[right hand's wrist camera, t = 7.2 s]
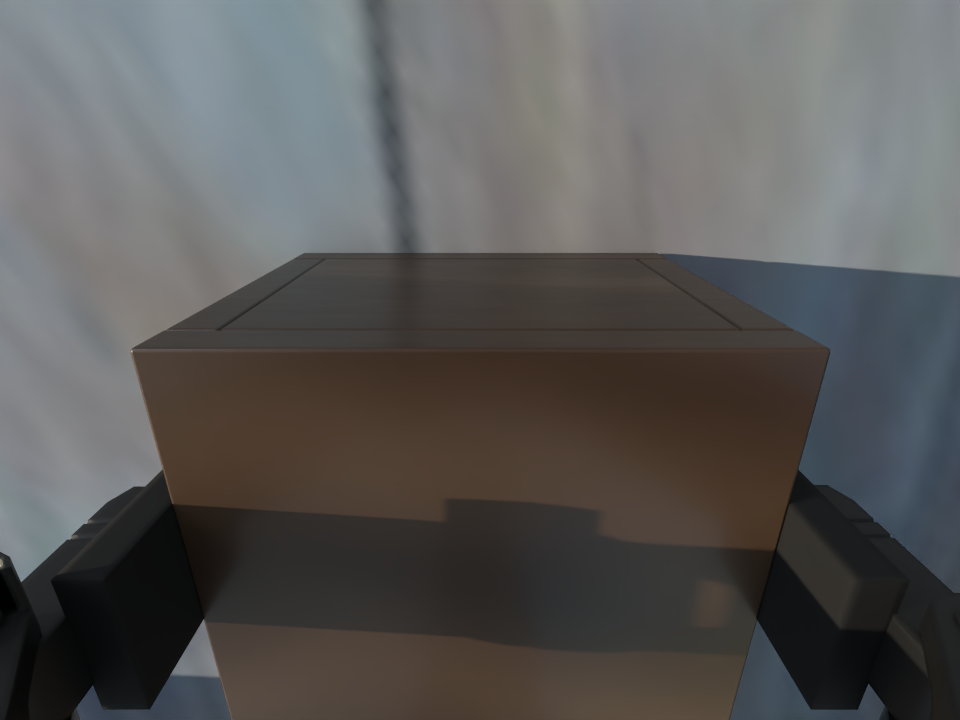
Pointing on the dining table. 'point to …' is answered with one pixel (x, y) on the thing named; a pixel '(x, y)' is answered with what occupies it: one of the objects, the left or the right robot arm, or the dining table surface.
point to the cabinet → (480, 483)
